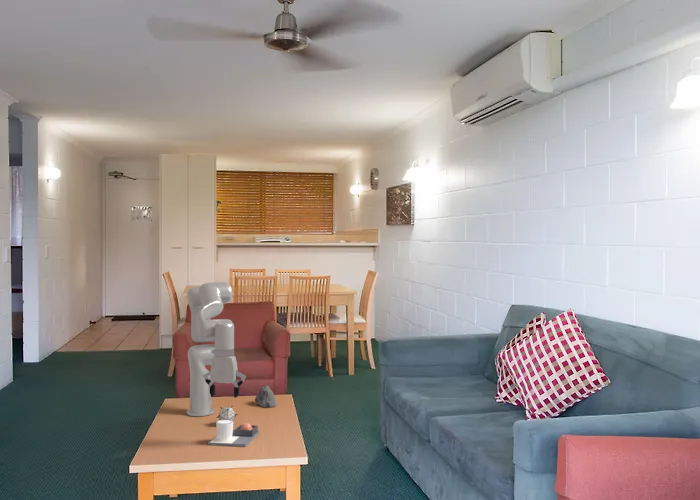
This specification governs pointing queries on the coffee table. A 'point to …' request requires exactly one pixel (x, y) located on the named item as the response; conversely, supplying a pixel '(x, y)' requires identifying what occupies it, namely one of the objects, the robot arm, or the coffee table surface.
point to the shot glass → (224, 430)
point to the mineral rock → (265, 397)
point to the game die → (227, 414)
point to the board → (238, 437)
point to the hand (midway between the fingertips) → (224, 396)
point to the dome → (246, 427)
